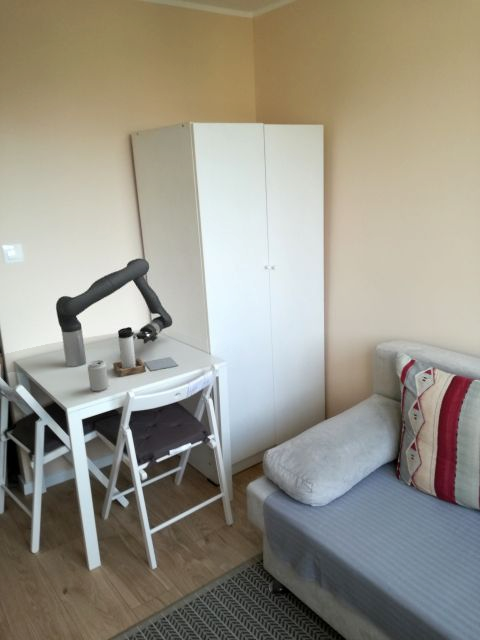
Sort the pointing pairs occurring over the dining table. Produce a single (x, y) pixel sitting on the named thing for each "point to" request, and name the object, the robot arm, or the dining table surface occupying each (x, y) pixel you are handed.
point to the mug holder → (129, 370)
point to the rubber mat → (161, 364)
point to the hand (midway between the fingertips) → (136, 341)
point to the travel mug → (126, 348)
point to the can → (98, 375)
